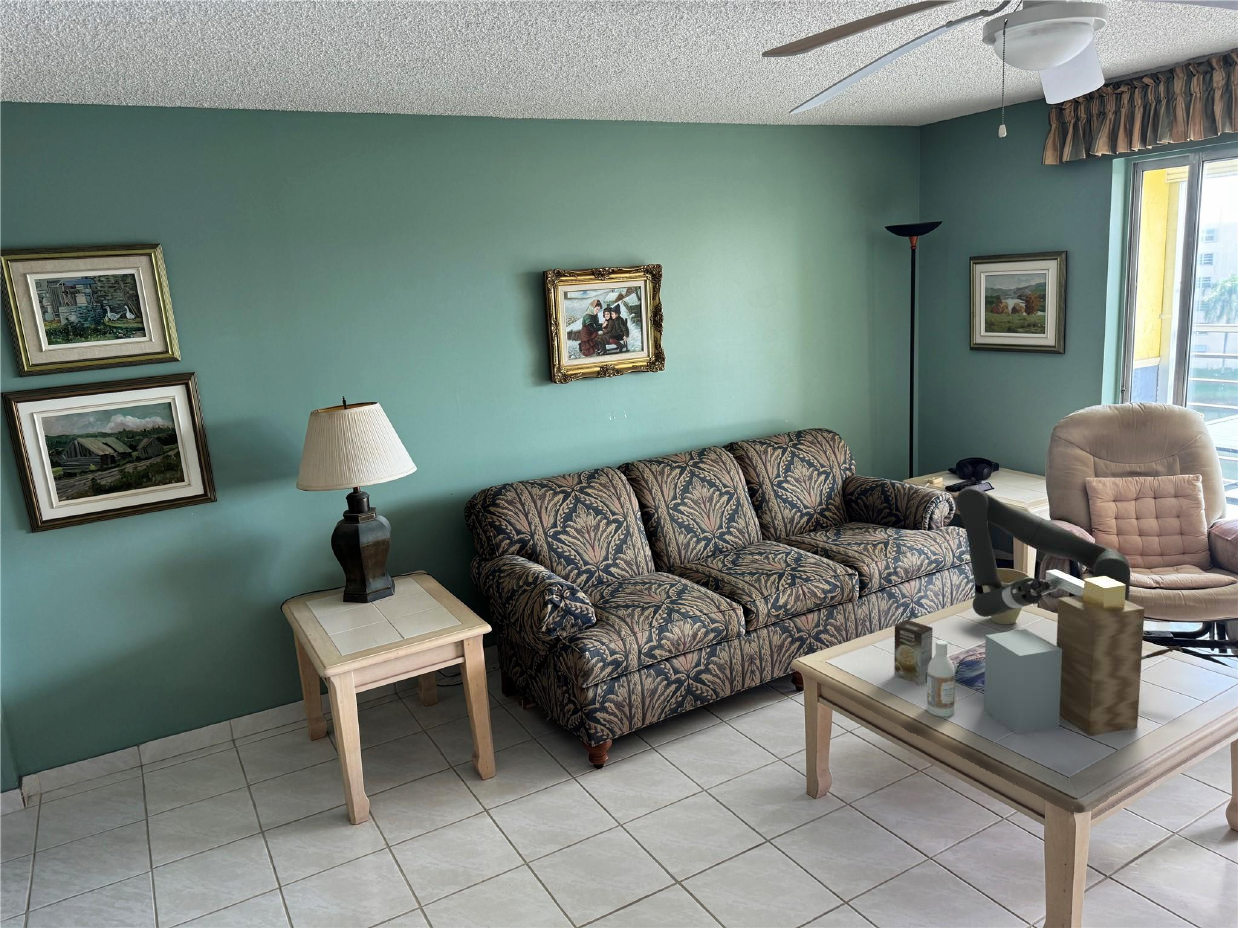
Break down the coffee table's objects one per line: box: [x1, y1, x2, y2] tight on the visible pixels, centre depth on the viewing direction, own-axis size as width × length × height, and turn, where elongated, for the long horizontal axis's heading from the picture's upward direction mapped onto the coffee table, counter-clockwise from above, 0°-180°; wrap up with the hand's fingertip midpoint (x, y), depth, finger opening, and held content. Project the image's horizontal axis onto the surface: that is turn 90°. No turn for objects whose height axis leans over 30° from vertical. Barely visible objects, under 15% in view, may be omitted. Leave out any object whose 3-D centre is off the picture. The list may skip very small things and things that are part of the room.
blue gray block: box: [983, 628, 1062, 736], centre depth 229 cm, size 12×14×22 cm
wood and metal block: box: [1045, 569, 1126, 611], centre depth 228 cm, size 6×23×6 cm, turn 12°
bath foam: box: [926, 639, 956, 718], centre depth 235 cm, size 7×7×20 cm
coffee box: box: [893, 618, 934, 686], centre depth 256 cm, size 9×6×16 cm
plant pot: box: [982, 567, 1030, 625], centre depth 293 cm, size 15×15×16 cm
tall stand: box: [1056, 595, 1145, 737], centre depth 225 cm, size 14×13×32 cm
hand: (1056, 581), depth 237 cm, fingers open, 8 cm apart
